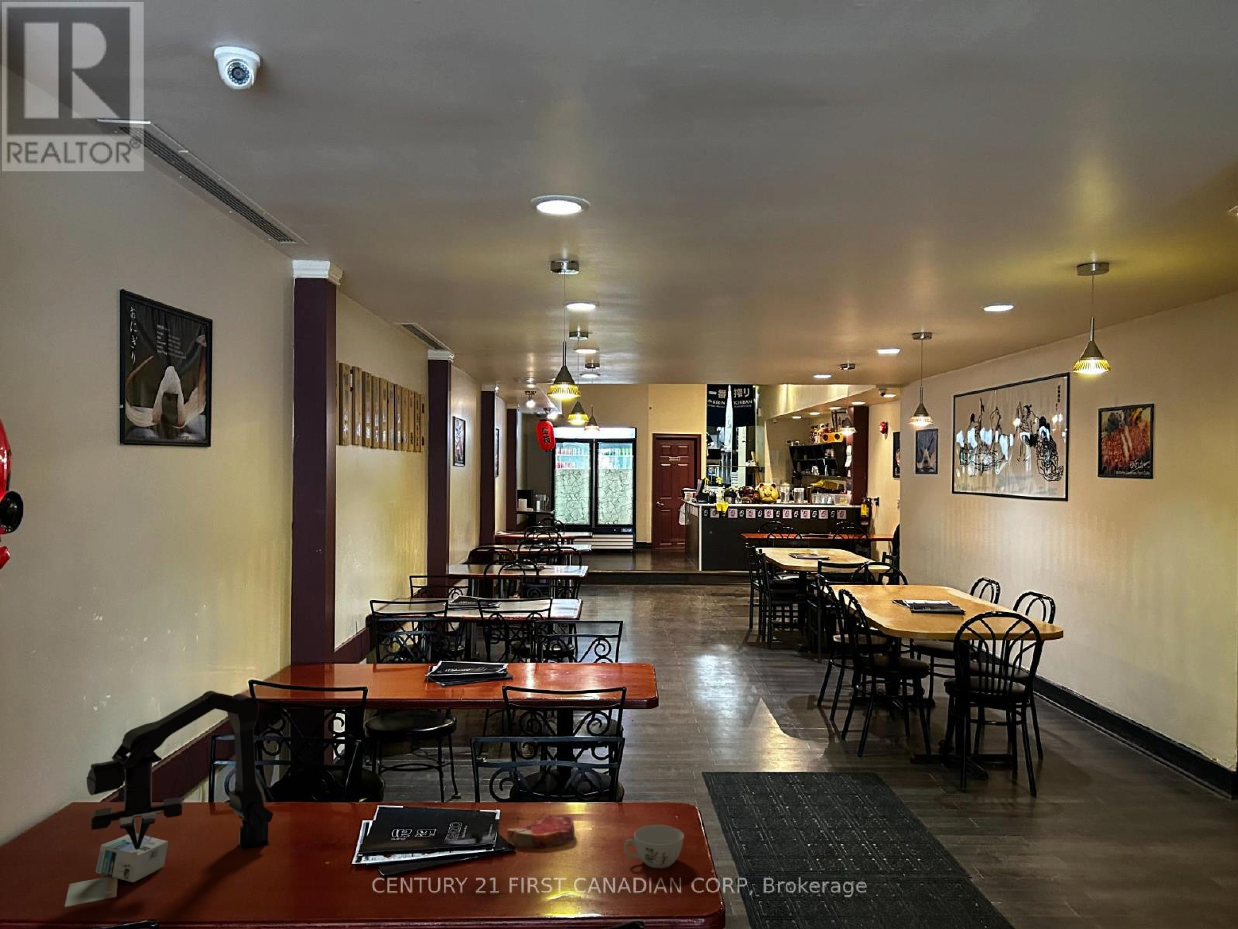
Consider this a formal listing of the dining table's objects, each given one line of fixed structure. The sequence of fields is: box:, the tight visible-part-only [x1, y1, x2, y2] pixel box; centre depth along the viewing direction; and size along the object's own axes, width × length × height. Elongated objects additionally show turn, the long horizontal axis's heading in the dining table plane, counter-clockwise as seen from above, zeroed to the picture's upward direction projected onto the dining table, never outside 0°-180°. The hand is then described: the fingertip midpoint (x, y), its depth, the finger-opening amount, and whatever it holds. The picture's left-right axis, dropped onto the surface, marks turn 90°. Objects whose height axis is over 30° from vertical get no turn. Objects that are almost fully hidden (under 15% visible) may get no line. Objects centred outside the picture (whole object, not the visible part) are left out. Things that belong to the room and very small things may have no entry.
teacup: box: [623, 824, 685, 869], centre depth 214 cm, size 15×12×8 cm
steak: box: [506, 814, 576, 849], centre depth 226 cm, size 25×21×6 cm
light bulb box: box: [94, 832, 169, 883], centre depth 207 cm, size 11×7×11 cm
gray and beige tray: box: [64, 876, 119, 908], centre depth 199 cm, size 10×12×2 cm
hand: (137, 849), depth 203 cm, fingers closed
